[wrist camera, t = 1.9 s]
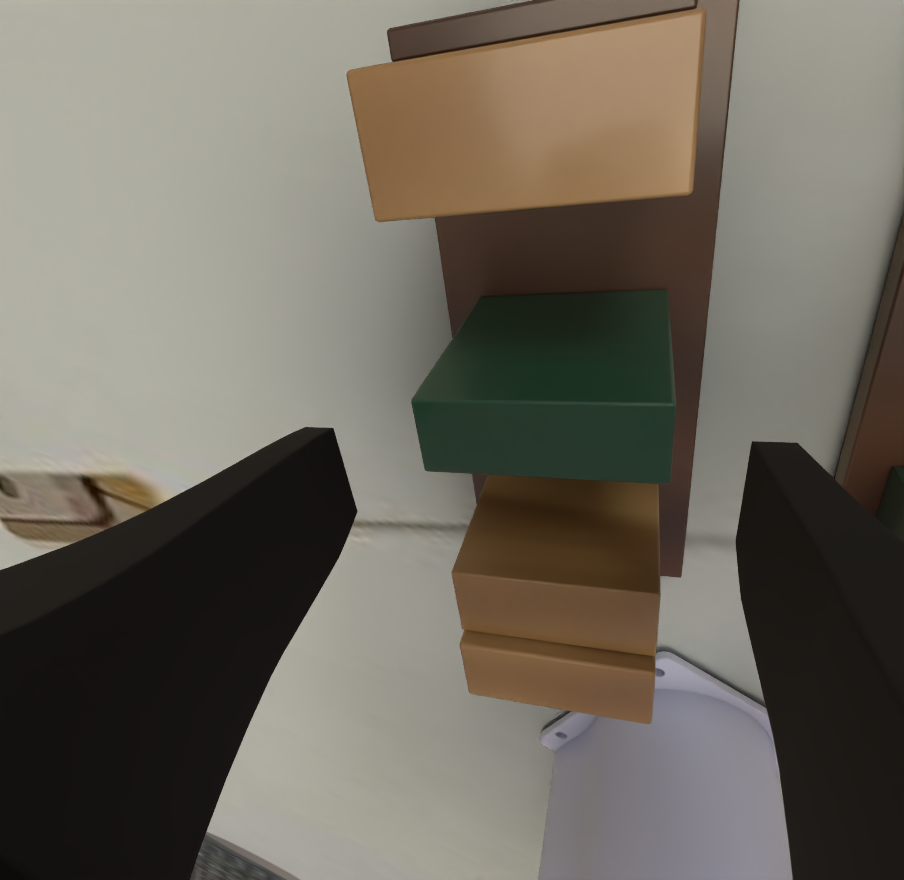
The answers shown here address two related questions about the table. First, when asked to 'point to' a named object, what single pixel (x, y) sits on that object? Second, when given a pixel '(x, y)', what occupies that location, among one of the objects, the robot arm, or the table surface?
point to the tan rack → (564, 292)
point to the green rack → (880, 412)
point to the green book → (554, 389)
